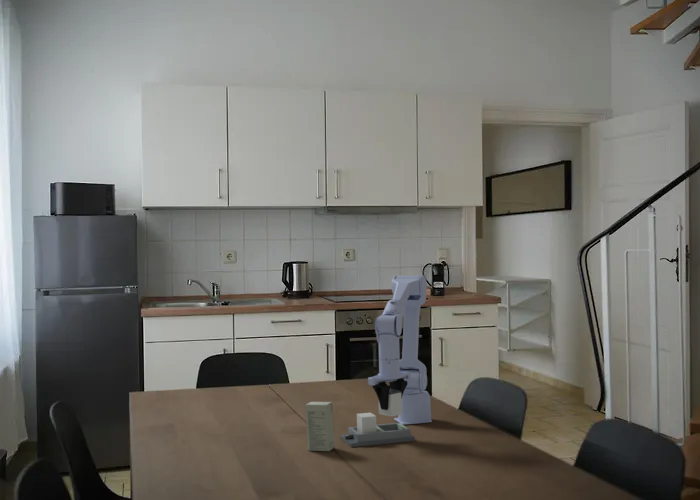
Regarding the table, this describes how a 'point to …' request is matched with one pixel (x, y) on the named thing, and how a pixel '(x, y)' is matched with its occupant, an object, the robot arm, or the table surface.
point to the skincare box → (319, 426)
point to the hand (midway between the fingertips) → (390, 408)
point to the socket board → (375, 432)
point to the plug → (392, 404)
